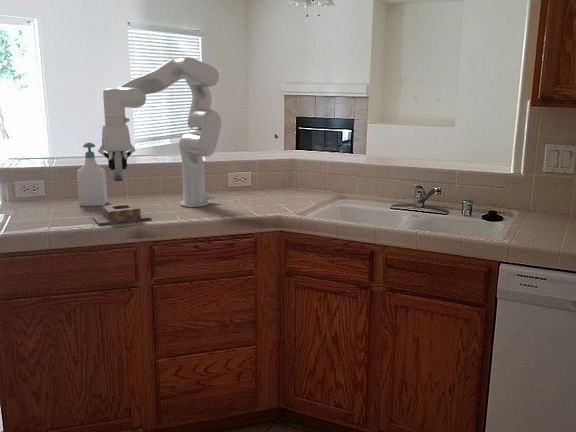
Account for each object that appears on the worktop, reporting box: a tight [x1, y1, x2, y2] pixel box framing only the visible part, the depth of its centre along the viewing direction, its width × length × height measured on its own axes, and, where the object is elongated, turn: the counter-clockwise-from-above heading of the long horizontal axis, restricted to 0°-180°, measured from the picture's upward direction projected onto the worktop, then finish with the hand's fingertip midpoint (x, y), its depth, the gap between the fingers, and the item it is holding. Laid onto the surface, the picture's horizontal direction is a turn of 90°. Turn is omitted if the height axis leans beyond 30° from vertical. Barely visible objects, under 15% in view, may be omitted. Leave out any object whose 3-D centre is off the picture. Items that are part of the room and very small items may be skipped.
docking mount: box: [92, 202, 152, 227], centre depth 216 cm, size 20×12×5 cm, turn 119°
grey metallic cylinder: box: [112, 150, 125, 182], centre depth 211 cm, size 4×4×12 cm
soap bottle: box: [76, 141, 109, 207], centre depth 242 cm, size 11×8×27 cm
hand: (118, 168), depth 211 cm, fingers closed on grey metallic cylinder, 4 cm apart
